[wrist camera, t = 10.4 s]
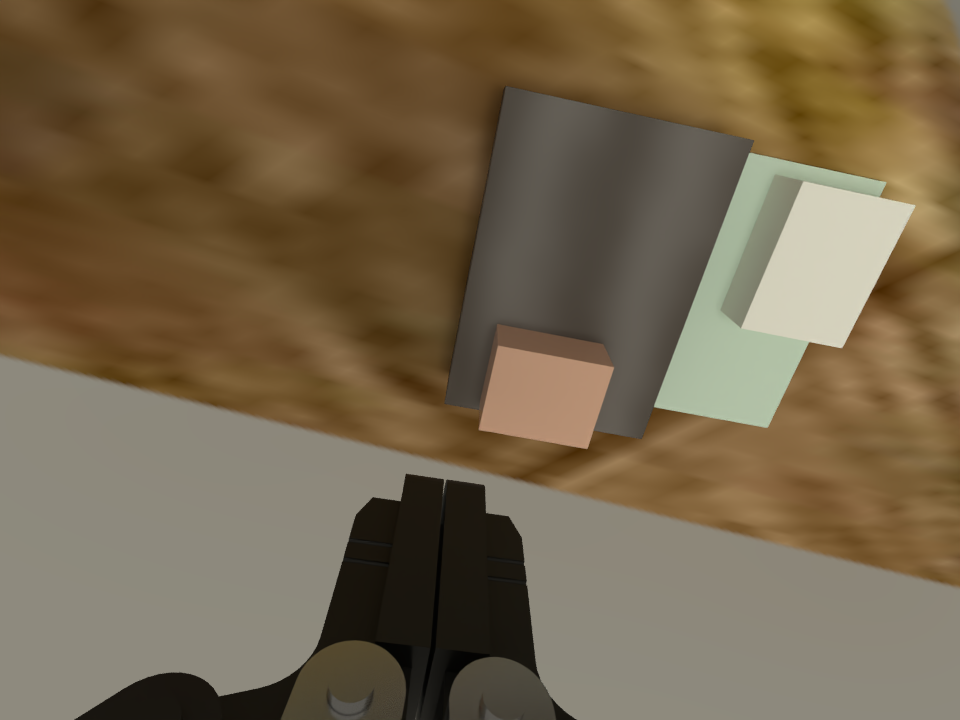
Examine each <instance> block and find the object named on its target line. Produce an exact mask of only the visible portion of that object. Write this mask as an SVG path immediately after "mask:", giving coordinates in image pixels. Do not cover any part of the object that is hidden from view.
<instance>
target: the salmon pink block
mask: <svg viewBox="0 0 960 720" xmlns="http://www.w3.org/2000/svg"><path fill="white" fill-rule="evenodd" d="M613 370H614V366H613V364H612V362H611V359H610V357H609V355H608V353H607V351H606V349H605V347H604V345H603V344H600V343H595V342H589V341H584V340H579V339H573V338H568V337H563V336H558V335H552V334H547V333H542V332H537V331H531V330H526V329H521V328H516V327H510V326H505V325H500V324H497V327H496V332H495V336H494V341H493V345H492V350H491V354H490V359H489V363H488V368H487V372H486V377H485V381H484V385H483V390H482V394H481V399H480V408H479V430H483V431H489V432H494V433H500V434H505V435H511V436H517V437H522V438H528V439H534V440H539V441H545V442H551V443H556V444H562V445H568V446H573V447H579V448H585V449H587V448H588V445H589V442H590V439H591V436H592V433H593V430H594V427H595V424H596V421H597V418H598V415H599V412H600V409H601V406H602V403H603V400H604V397H605V394H606V391H607V388H608V385H609V382H610V379H611V376H612V373H613Z"/></svg>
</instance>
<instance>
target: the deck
mask: <svg viewBox="0 0 960 720" xmlns="http://www.w3.org/2000/svg"><path fill="white" fill-rule="evenodd" d="M753 142H754V140H750V139H745V138H741V137H736V136H732V135H727V134H723V133H718V132H713V131H709V130H704V129H700V128H695V127H691V126H686V125H681V124H677V123H672V122H668V121H663V120H659V119H654V118H650V117H645V116H640V115H636V114H631V113H627V112H622V111H618V110H613V109H609V108H604V107H599V106H595V105H590V104H586V103H581V102H577V101H572V100H567V99H563V98H558V97H554V96H549V95H545V94H540V93H536V92H531V91H526V90H522V89H517V88H513V87H508V86H506V87H505V88H504V92H503V97H502V102H501V107H500V112H499V118H498V123H497V128H496V133H495V138H494V144H493V149H492V154H491V159H490V164H489V170H488V175H487V180H486V185H485V190H484V195H483V201H482V206H481V211H480V216H479V221H478V227H477V232H476V237H475V242H474V247H473V253H472V258H471V263H470V268H469V273H468V279H467V284H466V289H465V294H464V299H463V304H462V310H461V315H460V320H459V325H458V330H457V336H456V341H455V346H454V351H453V356H452V362H451V367H450V372H449V378H448V385H447V391H446V398H445V404H449V405H454V406H460V407H465V408H471V409H477V410H479V408H480V399H481V394H482V390H483V385H484V381H485V377H486V372H487V368H488V363H489V359H490V354H491V350H492V345H493V341H494V336H495V332H496V327H497V324H500V325H505V326H510V327H516V328H521V329H526V330H531V331H537V332H542V333H547V334H552V335H558V336H563V337H568V338H573V339H579V340H584V341H589V342H595V343H600V344H603V345H604V347H605V349H606V351H607V353H608V355H609V357H610V359H611V362H612V364H613V366H614V370H613V373H612V376H611V379H610V382H609V385H608V388H607V391H606V394H605V397H604V400H603V403H602V406H601V409H600V412H599V415H598V418H597V421H596V424H595V427H594V431H599V432H605V433H610V434H616V435H622V436H627V437H633V438H638V439H642V437H643V434H644V431H645V429H646V426H647V423H648V421H649V418H650V415H651V413H652V410H653V407H654V405H655V402H656V399H657V397H658V394H659V391H660V389H661V386H662V383H663V381H664V378H665V376H666V373H667V370H668V368H669V365H670V362H671V360H672V357H673V354H674V352H675V349H676V346H677V344H678V341H679V338H680V336H681V333H682V330H683V328H684V325H685V322H686V320H687V317H688V315H689V312H690V309H691V307H692V304H693V301H694V299H695V296H696V293H697V291H698V288H699V285H700V283H701V280H702V277H703V275H704V272H705V269H706V267H707V264H708V261H709V259H710V256H711V253H712V251H713V248H714V246H715V243H716V240H717V238H718V235H719V232H720V230H721V227H722V224H723V222H724V219H725V216H726V214H727V211H728V208H729V206H730V203H731V200H732V198H733V195H734V192H735V190H736V187H737V185H738V182H739V179H740V177H741V174H742V171H743V169H744V166H745V163H746V161H747V158H748V155H749V153H750V150H751V147H752V145H753Z"/></svg>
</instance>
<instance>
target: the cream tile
mask: <svg viewBox="0 0 960 720" xmlns="http://www.w3.org/2000/svg"><path fill="white" fill-rule="evenodd" d="M915 206H916V205H912V204H907V203H903V202H899V201H894V200H890V199H886V198H882V197H877V196H873V195H868V194H863V193H859V192H854V191H850V190H845V189H840V188H836V187H831V186H826V185H822V184H817V183H812V182H808V181H803V180H799V179H794V178H789V177H785V176H780V175H775V176H774V178H773V181H772V183H771V186H770V188H769V191H768V193H767V196H766V198H765V201H764V203H763V206H762V208H761V211H760V213H759V216H758V218H757V221H756V223H755V226H754V228H753V231H752V233H751V236H750V238H749V241H748V243H747V246H746V248H745V251H744V253H743V255H742V258H741V260H740V263H739V265H738V268H737V270H736V273H735V275H734V278H733V280H732V283H731V285H730V288H729V290H728V293H727V295H726V298H725V300H724V303H723V305H722V308H721V311H722V312H723V313H724V314H725V315H726V316H727V317H729V318H730V319H731V320H732V321H733V322H734V323H735V324H737V325H738V326H739V327H740V328H742V329H747V330H752V331H757V332H762V333H767V334H772V335H777V336H782V337H788V338H793V339H798V340H803V341H808V342H813V343H818V344H823V345H828V346H833V347H839V348H842V347H843V345H844V343H845V341H846V340H847V338H848V336H849V334H850V332H851V330H852V328H853V326H854V324H855V322H856V320H857V318H858V316H859V314H860V312H861V310H862V309H863V307H864V305H865V303H866V301H867V299H868V297H869V295H870V293H871V291H872V289H873V287H874V285H875V283H876V281H877V279H878V277H879V276H880V274H881V272H882V270H883V268H884V266H885V264H886V262H887V260H888V258H889V256H890V254H891V252H892V250H893V248H894V246H895V245H896V243H897V241H898V239H899V237H900V235H901V233H902V231H903V229H904V227H905V225H906V223H907V221H908V219H909V217H910V215H911V214H912V212H913V210H914V208H915Z"/></svg>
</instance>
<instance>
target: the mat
mask: <svg viewBox="0 0 960 720" xmlns="http://www.w3.org/2000/svg"><path fill="white" fill-rule="evenodd" d="M775 175H780V176H785V177H789V178H794V179H799V180H803V181H808V182H812V183H817V184H822V185H826V186H831V187H836V188H840V189H845V190H850V191H854V192H859V193H863V194H868V195H873V196H877V197H880V195H881V193H882V191H883V189H884V187H885V185H886V182H882V181H877V180H873V179H868V178H864V177H859V176H854V175H850V174H845V173H841V172H836V171H832V170H827V169H822V168H818V167H813V166H809V165H804V164H799V163H795V162H790V161H786V160H781V159H776V158H772V157H767V156H763V155H758V154H753V153H749V155H748V158H747V161H746V163H745V166H744V169H743V171H742V174H741V177H740V179H739V182H738V185H737V187H736V190H735V192H734V195H733V198H732V200H731V203H730V206H729V208H728V211H727V214H726V216H725V219H724V222H723V224H722V227H721V230H720V232H719V235H718V238H717V240H716V243H715V246H714V248H713V251H712V253H711V256H710V259H709V261H708V264H707V267H706V269H705V272H704V275H703V277H702V280H701V283H700V285H699V288H698V291H697V293H696V296H695V299H694V301H693V304H692V307H691V309H690V312H689V315H688V317H687V320H686V322H685V325H684V328H683V330H682V333H681V336H680V338H679V341H678V344H677V346H676V349H675V352H674V354H673V357H672V360H671V362H670V365H669V368H668V370H667V373H666V376H665V378H664V381H663V383H662V386H661V389H660V391H659V394H658V397H657V399H656V402H655V405H654V407H657V408H662V409H667V410H673V411H678V412H684V413H689V414H695V415H700V416H706V417H711V418H716V419H722V420H727V421H733V422H738V423H744V424H749V425H755V426H760V427H766V428H768V426H769V424H770V422H771V419H772V417H773V415H774V413H775V411H776V409H777V407H778V405H779V403H780V401H781V399H782V397H783V395H784V393H785V391H786V389H787V386H788V384H789V382H790V380H791V378H792V376H793V374H794V372H795V370H796V368H797V366H798V364H799V362H800V360H801V358H802V356H803V354H804V351H805V349H806V347H807V345H808V343H809V342H808V341H803V340H798V339H793V338H788V337H782V336H777V335H772V334H767V333H762V332H757V331H752V330H747V329H742V328H740V327H739V326H738V325H737V324H735V323H734V322H733V321H732V320H731V319H730V318H729V317H727V316H726V315H725V314H724V313H723V312H722V311H721V308H722V305H723V303H724V300H725V298H726V295H727V293H728V290H729V288H730V285H731V283H732V280H733V278H734V275H735V273H736V270H737V268H738V265H739V263H740V260H741V258H742V255H743V253H744V251H745V248H746V246H747V243H748V241H749V238H750V236H751V233H752V231H753V228H754V226H755V223H756V221H757V218H758V216H759V213H760V211H761V208H762V206H763V203H764V201H765V198H766V196H767V193H768V191H769V188H770V186H771V183H772V181H773V178H774V176H775Z"/></svg>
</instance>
